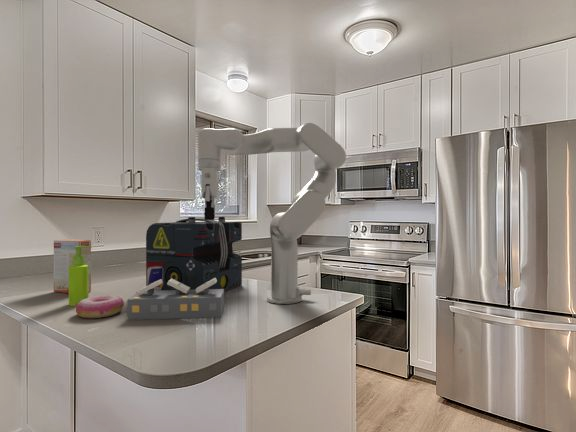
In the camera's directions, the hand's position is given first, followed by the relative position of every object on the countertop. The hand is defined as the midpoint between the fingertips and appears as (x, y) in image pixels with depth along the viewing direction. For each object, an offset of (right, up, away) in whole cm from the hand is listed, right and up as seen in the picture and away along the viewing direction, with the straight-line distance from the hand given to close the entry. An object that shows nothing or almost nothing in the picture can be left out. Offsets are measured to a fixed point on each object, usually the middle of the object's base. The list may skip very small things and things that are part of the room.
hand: (209, 219), depth 121 cm
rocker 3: (+1, -21, -9) cm, 22 cm away
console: (-8, -29, -10) cm, 32 cm away
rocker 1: (-16, -21, -11) cm, 28 cm away
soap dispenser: (-45, -29, +2) cm, 54 cm away
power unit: (-11, -29, +27) cm, 41 cm away
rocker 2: (-8, -21, -10) cm, 24 cm away
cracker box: (-59, -29, +21) cm, 70 cm away
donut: (-32, -30, -10) cm, 45 cm away
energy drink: (-21, -29, +6) cm, 36 cm away
